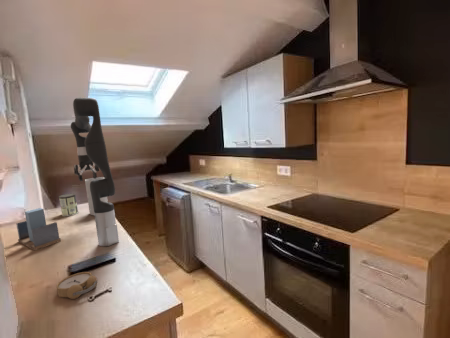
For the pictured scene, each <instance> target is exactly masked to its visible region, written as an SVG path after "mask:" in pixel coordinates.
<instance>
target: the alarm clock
mask: <svg viewBox="0 0 450 338" xmlns="http://www.w3.org/2000/svg"><path fill="white" fill-rule="evenodd" d="M97 285H98V279H97V277H96V276H95V275H92V273H91V271H82V272H77V273H74V274H71V275H69V276H67V277H64V278H63V279H61V280H60V281H58V283H57V284H56V291H57V295H58V297H59V298H69V299H71V300H75V299H78V298H79V297H81V295H83V294H86V293H88V292H90V291H91V290H94V289H95V288H96V287H97Z"/></svg>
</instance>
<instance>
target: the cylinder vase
mask: <svg viewBox="0 0 450 338" xmlns="http://www.w3.org/2000/svg"><path fill="white" fill-rule="evenodd" d="M99 179H104V176H101V177H100V176H99V177H98V176H97V177H96V179H94V178H93V177H91V178H86V179H84V183H85V190H86V197H87V205H88V212H89V215H91V216H95V215H94V208H93V202H92V196H91V192H90V182H91V181H93V180H99ZM100 200H101V201H103V202H108V201H109V200H108V197H103V198H100Z"/></svg>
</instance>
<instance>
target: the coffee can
mask: <svg viewBox="0 0 450 338" xmlns="http://www.w3.org/2000/svg"><path fill="white" fill-rule="evenodd" d="M76 195H77V193H66V194H62V195H58V198H59V205H60V212H61V217H69V216H75V215H77V214H79V209H78V204H77V197H76Z"/></svg>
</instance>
